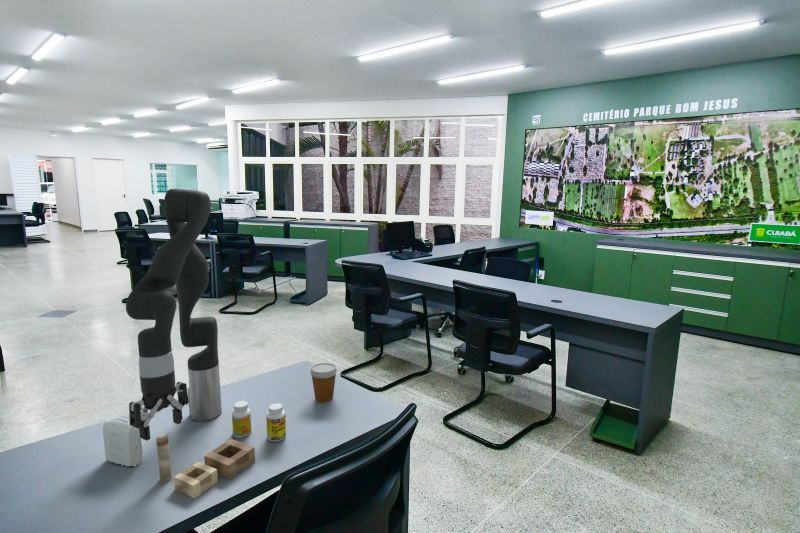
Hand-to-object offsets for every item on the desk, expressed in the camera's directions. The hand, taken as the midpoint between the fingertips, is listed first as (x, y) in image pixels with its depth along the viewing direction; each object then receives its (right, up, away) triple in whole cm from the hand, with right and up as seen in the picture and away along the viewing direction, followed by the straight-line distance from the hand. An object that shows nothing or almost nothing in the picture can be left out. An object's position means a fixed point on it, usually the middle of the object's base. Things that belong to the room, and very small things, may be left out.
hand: (162, 431), depth 110 cm
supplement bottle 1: (+11, -10, +24) cm, 29 cm away
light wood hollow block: (+9, -14, 0) cm, 16 cm away
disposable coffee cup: (+33, -6, +47) cm, 58 cm away
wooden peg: (0, -13, +2) cm, 14 cm away
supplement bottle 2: (+23, -11, +22) cm, 33 cm away
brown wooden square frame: (+14, -13, +9) cm, 21 cm away
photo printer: (-16, -12, +10) cm, 22 cm away
